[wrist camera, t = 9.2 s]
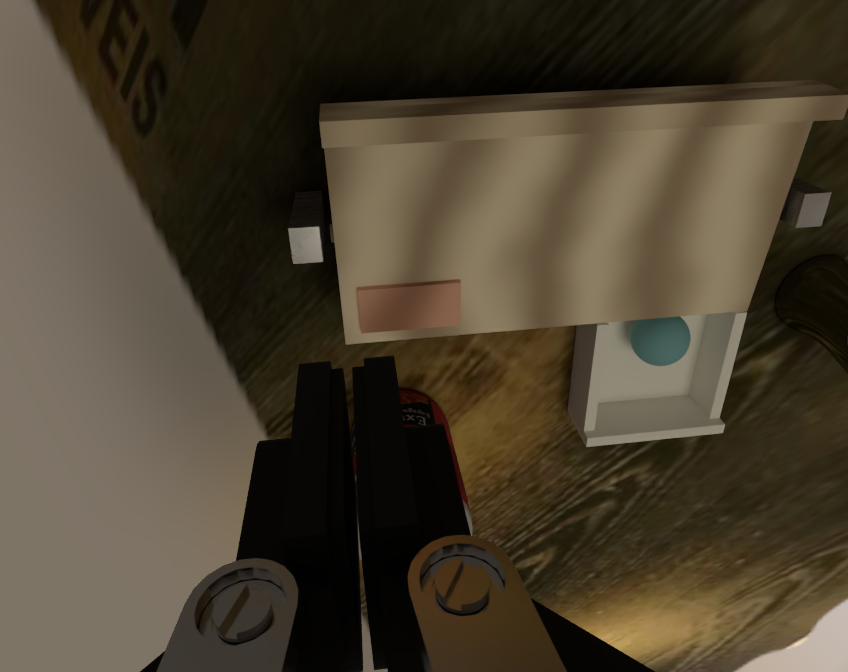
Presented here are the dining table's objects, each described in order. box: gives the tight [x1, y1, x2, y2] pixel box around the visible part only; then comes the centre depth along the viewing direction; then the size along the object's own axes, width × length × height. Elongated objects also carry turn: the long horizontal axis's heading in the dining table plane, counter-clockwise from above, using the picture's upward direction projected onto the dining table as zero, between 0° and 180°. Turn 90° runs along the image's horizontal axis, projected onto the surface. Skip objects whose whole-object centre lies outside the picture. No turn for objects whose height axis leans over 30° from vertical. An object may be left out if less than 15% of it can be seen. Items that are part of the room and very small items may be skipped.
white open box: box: [567, 311, 747, 447], centre depth 45 cm, size 11×11×4 cm
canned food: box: [350, 390, 473, 561], centre depth 43 cm, size 8×8×11 cm
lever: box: [319, 80, 848, 344], centre depth 35 cm, size 26×14×4 cm, turn 92°
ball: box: [630, 316, 691, 366], centre depth 44 cm, size 4×4×4 cm
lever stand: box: [288, 177, 832, 264], centre depth 37 cm, size 31×2×7 cm, turn 92°
